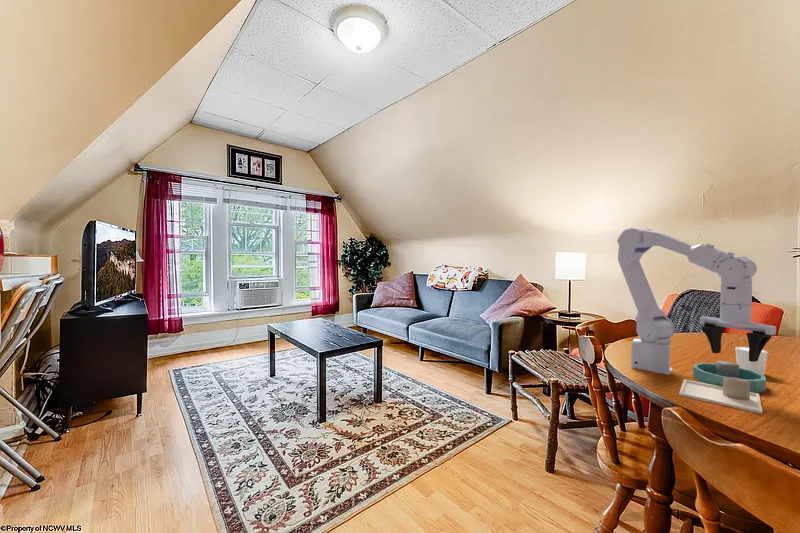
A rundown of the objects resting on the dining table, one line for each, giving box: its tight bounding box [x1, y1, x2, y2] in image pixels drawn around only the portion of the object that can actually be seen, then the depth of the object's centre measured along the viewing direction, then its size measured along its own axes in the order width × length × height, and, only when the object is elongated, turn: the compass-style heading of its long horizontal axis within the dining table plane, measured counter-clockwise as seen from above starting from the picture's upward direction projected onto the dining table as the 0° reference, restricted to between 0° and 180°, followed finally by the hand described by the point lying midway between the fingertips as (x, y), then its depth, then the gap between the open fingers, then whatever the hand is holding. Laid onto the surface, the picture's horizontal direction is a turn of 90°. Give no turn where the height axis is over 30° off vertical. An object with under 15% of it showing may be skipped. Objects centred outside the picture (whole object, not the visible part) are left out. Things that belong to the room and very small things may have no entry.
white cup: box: [734, 346, 769, 376], centre depth 101 cm, size 7×7×7 cm
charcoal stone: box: [715, 360, 739, 378], centre depth 94 cm, size 5×5×4 cm
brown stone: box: [723, 377, 750, 400], centre depth 82 cm, size 5×5×4 cm
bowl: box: [692, 362, 767, 394], centre depth 92 cm, size 14×14×4 cm
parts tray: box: [678, 378, 764, 415], centre depth 83 cm, size 14×13×1 cm
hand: (734, 356), depth 87 cm, fingers open, 7 cm apart
